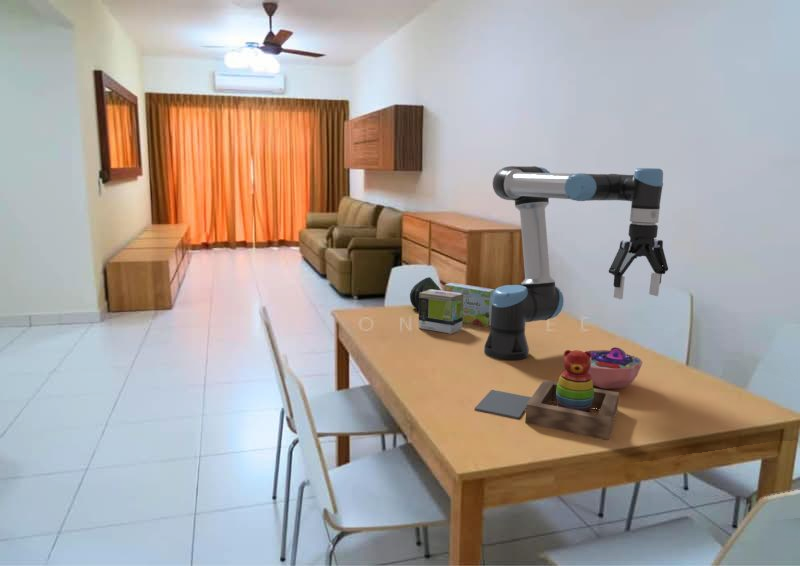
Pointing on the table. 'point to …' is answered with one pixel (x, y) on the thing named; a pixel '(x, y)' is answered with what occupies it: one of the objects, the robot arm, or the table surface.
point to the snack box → (474, 303)
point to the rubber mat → (503, 404)
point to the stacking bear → (575, 382)
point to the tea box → (441, 311)
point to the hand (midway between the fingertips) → (636, 296)
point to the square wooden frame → (572, 412)
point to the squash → (421, 290)
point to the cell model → (613, 368)
